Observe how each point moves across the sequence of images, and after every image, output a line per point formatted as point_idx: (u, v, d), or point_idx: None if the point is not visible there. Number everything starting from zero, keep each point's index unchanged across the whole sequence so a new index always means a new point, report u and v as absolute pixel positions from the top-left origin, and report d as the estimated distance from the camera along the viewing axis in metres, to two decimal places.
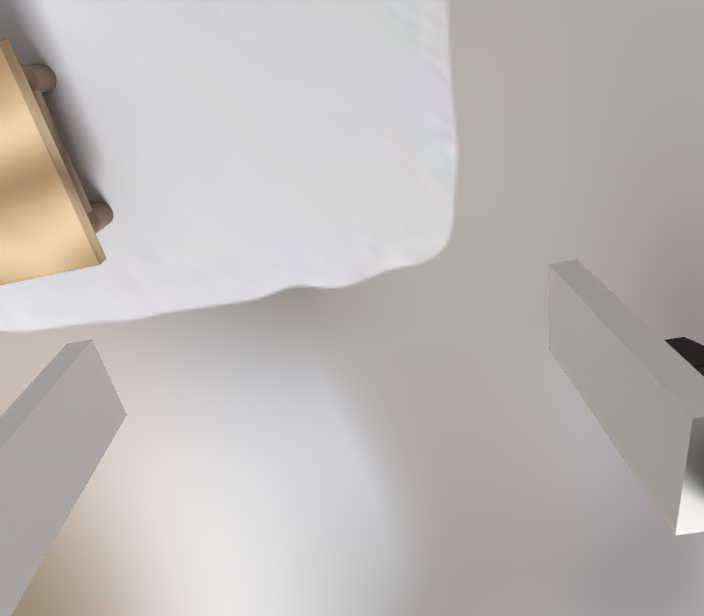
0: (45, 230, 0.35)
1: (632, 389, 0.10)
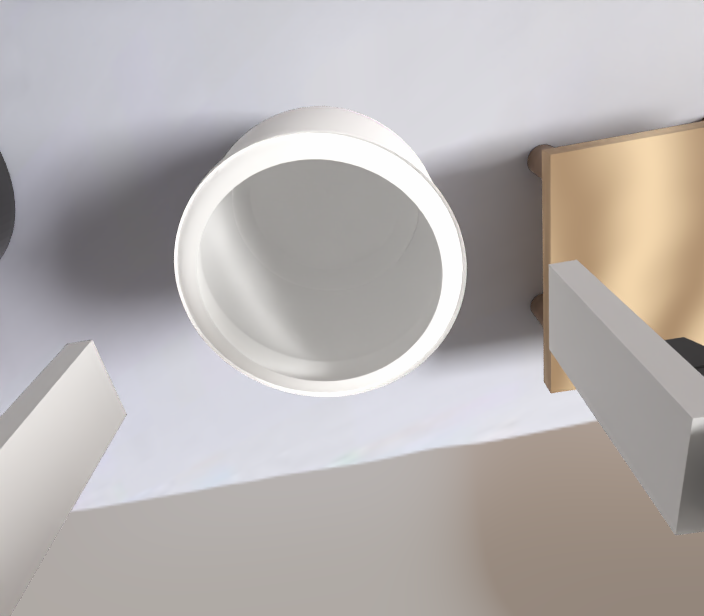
0: None
1: (633, 389, 0.10)
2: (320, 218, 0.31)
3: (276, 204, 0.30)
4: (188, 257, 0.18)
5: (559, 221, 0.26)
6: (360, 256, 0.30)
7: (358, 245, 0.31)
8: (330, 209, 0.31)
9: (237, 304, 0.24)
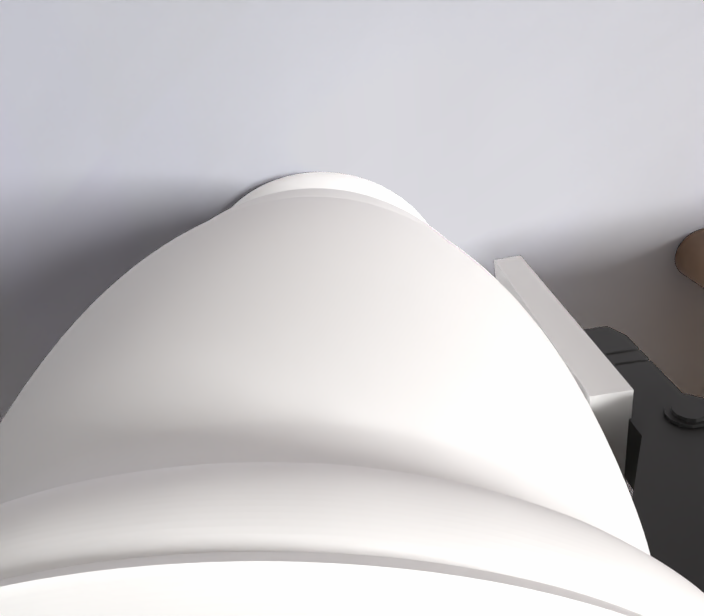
0: None
1: None
2: None
3: None
4: None
5: None
6: None
7: None
8: None
9: None
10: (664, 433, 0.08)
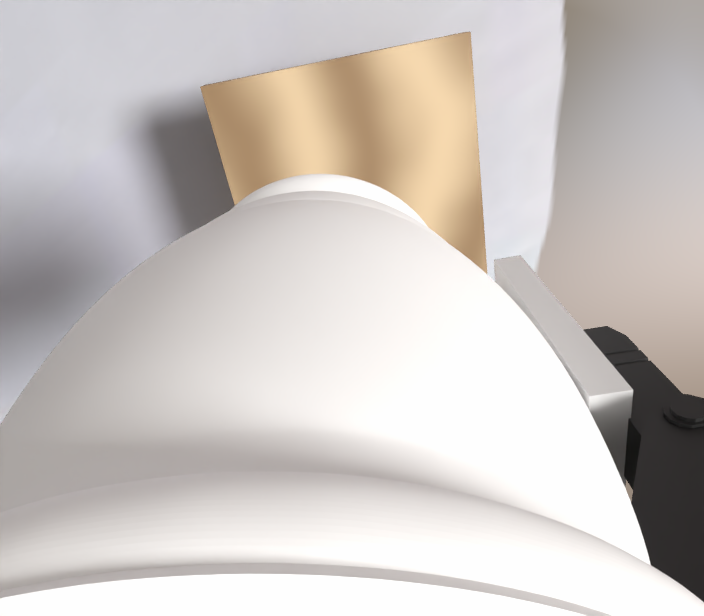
0: (417, 95, 0.28)
1: None
2: None
3: None
4: None
5: (227, 151, 0.29)
6: None
7: None
8: None
9: None
10: (663, 433, 0.08)
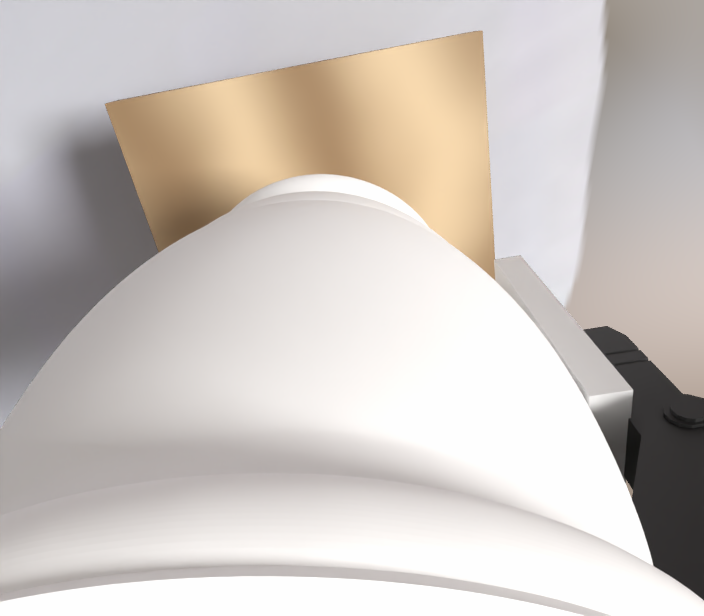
0: (407, 118, 0.20)
1: None
2: None
3: None
4: None
5: (147, 191, 0.21)
6: None
7: None
8: None
9: None
10: (664, 433, 0.08)
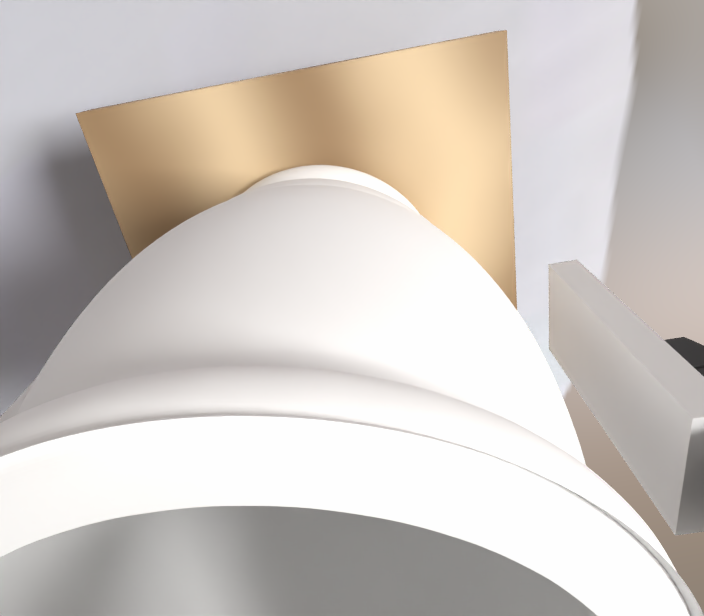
0: (419, 130, 0.18)
1: (633, 389, 0.10)
2: None
3: None
4: None
5: (125, 211, 0.19)
6: None
7: None
8: None
9: (135, 583, 0.12)
10: None
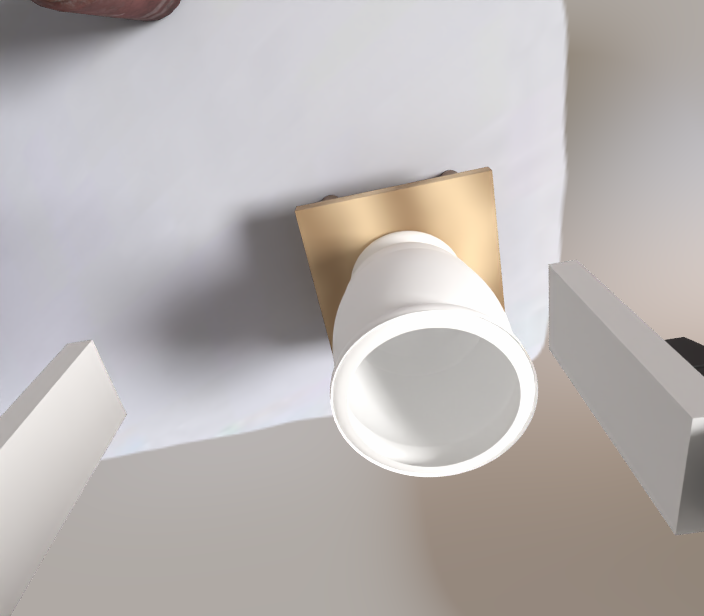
0: (452, 213, 0.38)
1: (632, 389, 0.10)
2: None
3: None
4: (341, 388, 0.26)
5: (311, 254, 0.39)
6: (436, 345, 0.38)
7: (434, 336, 0.38)
8: None
9: (355, 400, 0.32)
10: None
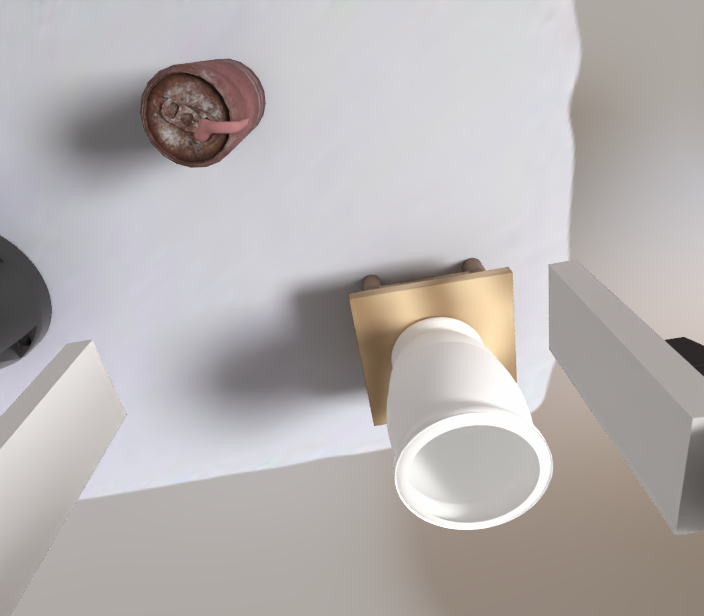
0: (478, 304, 0.46)
1: (633, 389, 0.10)
2: None
3: None
4: (404, 466, 0.34)
5: (360, 332, 0.47)
6: None
7: None
8: None
9: None
10: None
